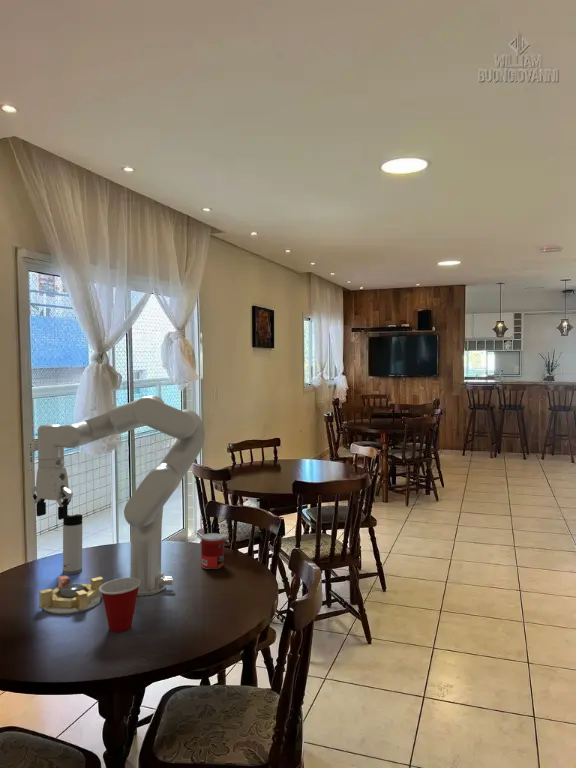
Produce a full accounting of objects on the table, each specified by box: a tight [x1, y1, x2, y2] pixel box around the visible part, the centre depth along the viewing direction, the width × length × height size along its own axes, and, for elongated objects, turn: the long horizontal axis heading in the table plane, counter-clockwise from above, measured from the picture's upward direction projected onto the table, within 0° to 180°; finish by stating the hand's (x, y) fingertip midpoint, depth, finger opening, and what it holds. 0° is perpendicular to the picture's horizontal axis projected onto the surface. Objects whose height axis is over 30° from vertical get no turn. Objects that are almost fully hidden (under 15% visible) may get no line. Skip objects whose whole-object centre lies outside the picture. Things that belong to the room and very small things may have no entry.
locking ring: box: [38, 574, 104, 610], centre depth 161 cm, size 14×14×4 cm
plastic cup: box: [99, 577, 141, 633], centre depth 146 cm, size 11×11×12 cm
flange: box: [42, 583, 102, 616], centre depth 161 cm, size 16×16×4 cm
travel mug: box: [62, 513, 83, 575], centre depth 187 cm, size 6×7×20 cm
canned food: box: [200, 532, 225, 568], centre depth 194 cm, size 8×8×11 cm
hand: (51, 517), depth 172 cm, fingers open, 9 cm apart
